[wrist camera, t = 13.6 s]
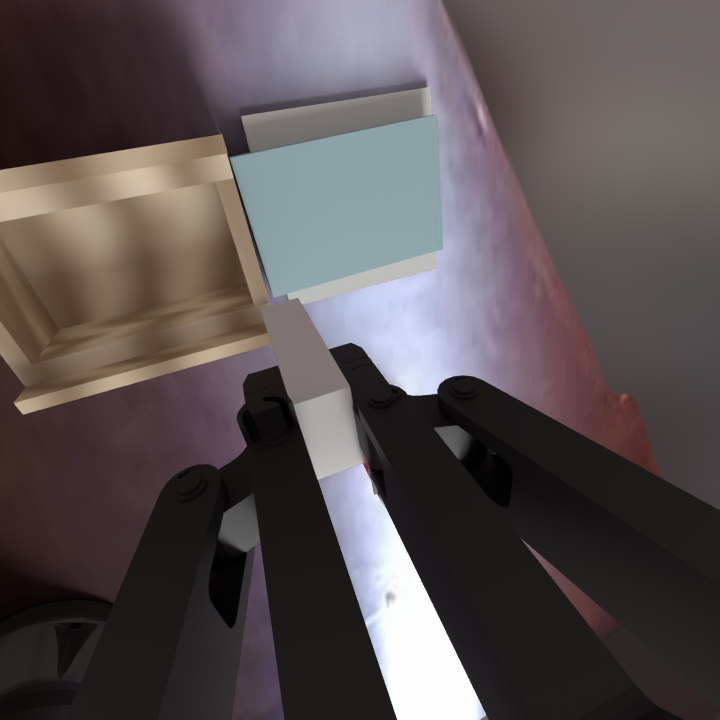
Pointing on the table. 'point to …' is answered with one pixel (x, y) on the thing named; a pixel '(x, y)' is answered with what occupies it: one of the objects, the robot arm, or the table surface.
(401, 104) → the mat
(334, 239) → the lid
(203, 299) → the box
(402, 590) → the table surface
